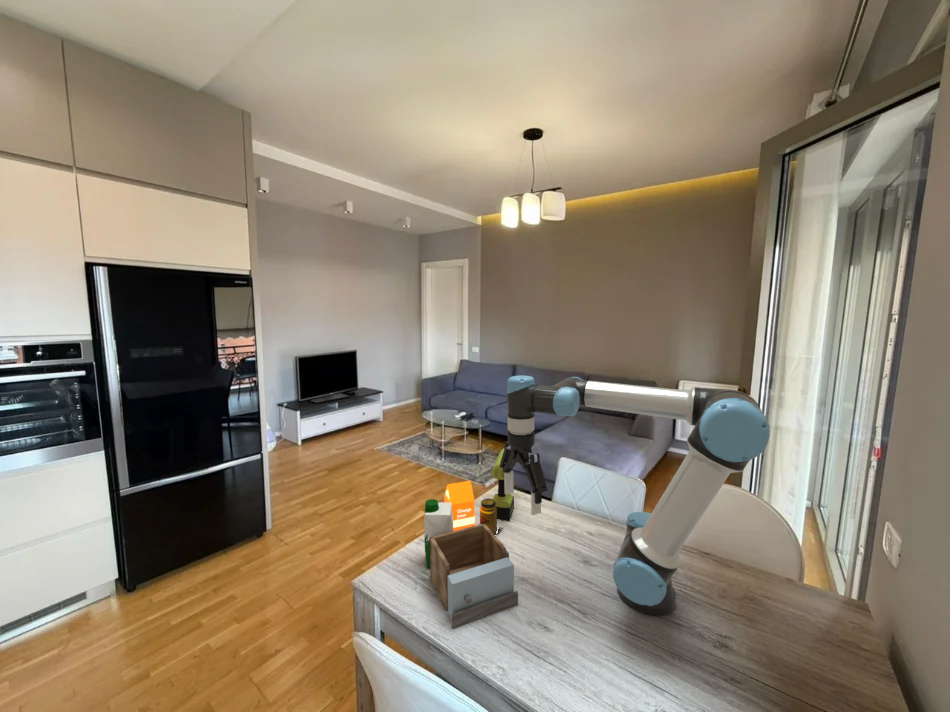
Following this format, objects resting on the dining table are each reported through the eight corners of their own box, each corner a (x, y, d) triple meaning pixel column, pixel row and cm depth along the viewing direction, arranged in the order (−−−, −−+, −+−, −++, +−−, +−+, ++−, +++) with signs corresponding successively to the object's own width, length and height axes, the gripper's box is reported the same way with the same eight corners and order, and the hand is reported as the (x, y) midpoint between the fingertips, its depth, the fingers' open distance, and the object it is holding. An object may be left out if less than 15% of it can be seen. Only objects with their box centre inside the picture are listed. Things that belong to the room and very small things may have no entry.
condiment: (475, 535, 137) (475, 503, 136) (485, 523, 145) (485, 493, 143) (493, 540, 134) (494, 508, 132) (503, 528, 141) (503, 497, 140)
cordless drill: (502, 493, 168) (502, 438, 164) (518, 495, 166) (519, 439, 163) (489, 522, 145) (490, 458, 142) (508, 524, 144) (509, 460, 140)
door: (515, 604, 105) (516, 567, 104) (454, 627, 98) (454, 587, 97) (507, 592, 110) (507, 557, 108) (447, 613, 102) (447, 575, 101)
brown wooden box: (519, 604, 105) (520, 560, 104) (453, 628, 97) (452, 581, 96) (487, 560, 123) (487, 522, 122) (428, 578, 115) (427, 537, 114)
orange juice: (444, 532, 139) (443, 479, 136) (467, 527, 142) (467, 476, 139) (450, 545, 131) (450, 489, 129) (474, 539, 135) (474, 485, 132)
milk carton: (426, 552, 127) (425, 495, 125) (454, 552, 127) (453, 495, 125) (423, 570, 119) (422, 509, 116) (452, 570, 119) (452, 509, 116)
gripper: (560, 441, 99) (560, 519, 101) (508, 418, 121) (509, 483, 123) (537, 446, 95) (537, 527, 98) (487, 422, 118) (489, 488, 120)
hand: (521, 502), depth 111 cm, fingers open, 13 cm apart
